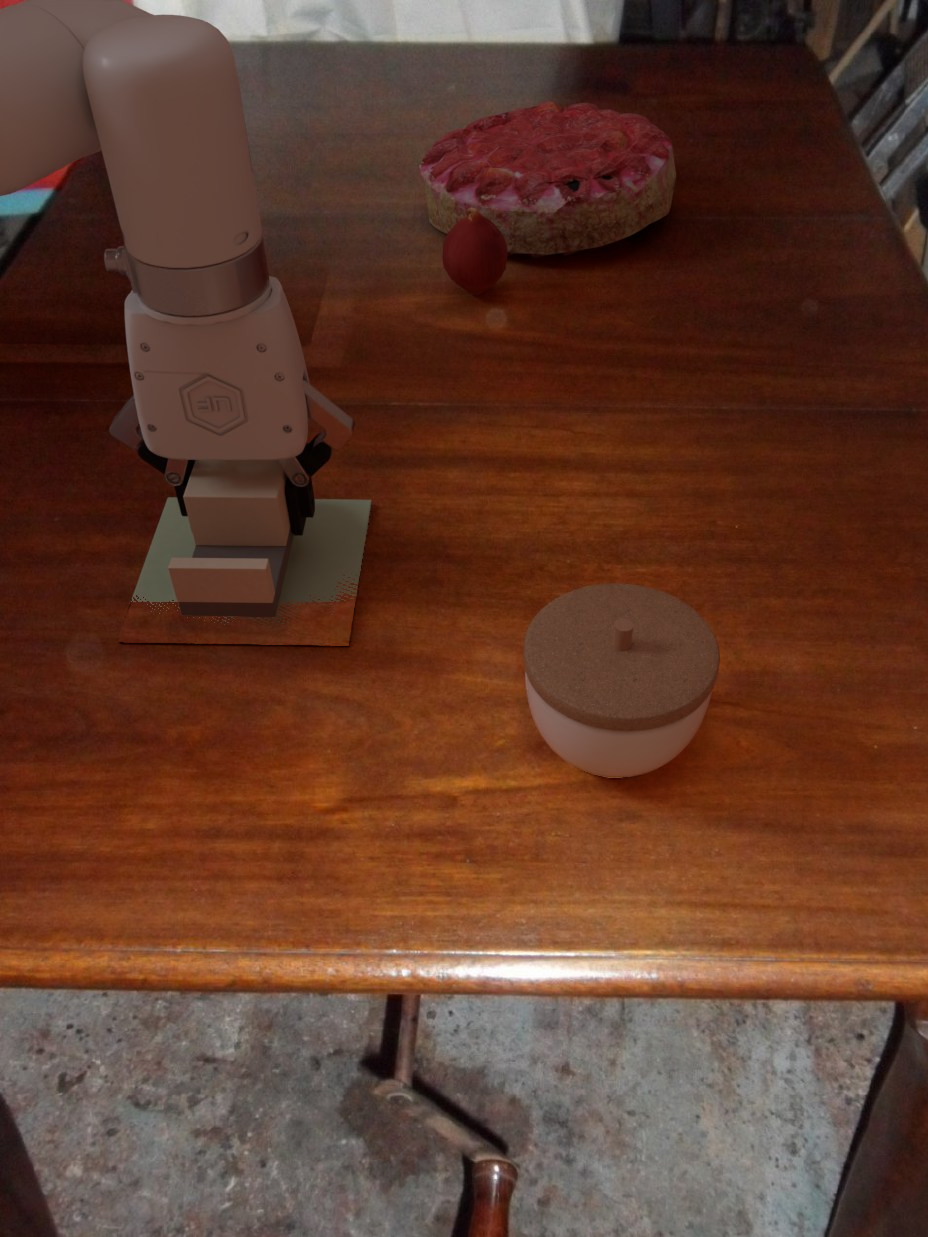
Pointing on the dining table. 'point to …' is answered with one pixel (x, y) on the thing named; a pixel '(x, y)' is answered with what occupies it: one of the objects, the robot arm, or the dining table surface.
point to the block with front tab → (234, 540)
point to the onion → (474, 253)
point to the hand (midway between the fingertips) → (251, 520)
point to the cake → (552, 176)
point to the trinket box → (619, 677)
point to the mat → (311, 565)
